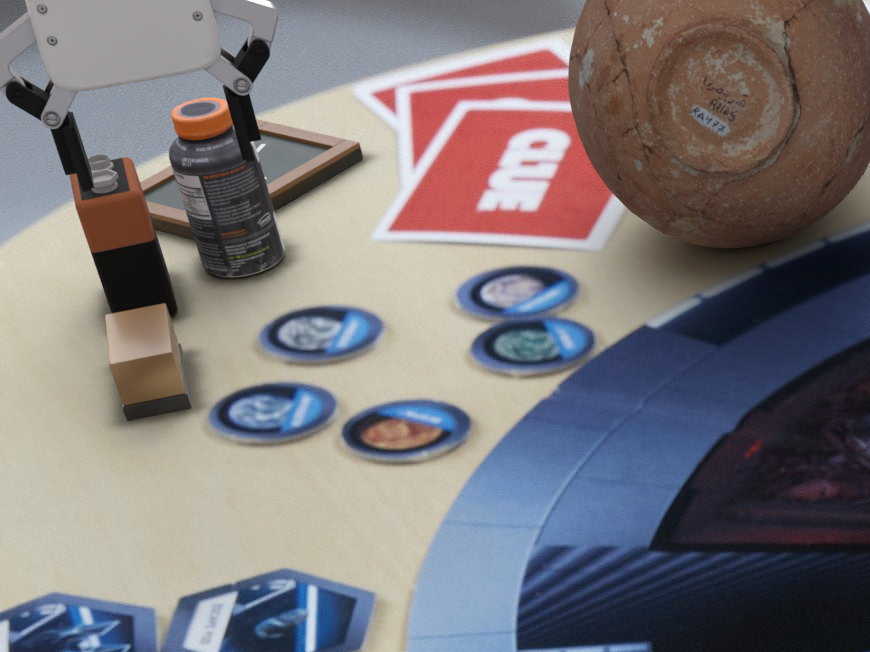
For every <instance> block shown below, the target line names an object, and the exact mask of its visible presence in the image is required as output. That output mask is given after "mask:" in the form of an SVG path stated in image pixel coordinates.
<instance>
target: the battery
mask: <svg viewBox="0 0 870 652" xmlns="http://www.w3.org/2000/svg"><path fill="white" fill-rule="evenodd" d="M87 158H88V161H89V164H90V168H91V171H92V177H93V183H94V188H91V191H88V192H82V189H81V186H80V183H79V180H78V176H77V174H71V175H69V180H70V186H71V191H72V196H73V201H74V206H75V210H76V213H77V216H78V219H79V221H80V226H81V228H82V231H83V233H84V236H85V239H86V242H87V245H88V248H89V252H90V254H91V257H92V260H93V263H94V265H95V269H96V272H97V275H98V277H99V280H100V284H101V286H102V289H103V292H104V295H105V298H106V302H107V304H108V307H109V310H110V314H112V313H117V312H122V311H127V310H132V309H138V308H143V307H148V306H153V305H158V304H163V303H165V304H166V306H167V309H168V312H169V315H170V317H174V316H175V315H177V313H178V304H177V300H176V296H175V292H174V287H173V284H172V280H171V275H170V273H169V270H168V269H169V268H168V266H167V263H166V260H165V257H164V254H163V250H162V247H161V244H160V241H159V237H158V235H157V232H156V229H155V228H154V225H153V222H152V219H151V216H150V212H149V209H148V206H147V203H146V200H145V197H144V194H143V190H142V187H141V184H140V182H141V181H140V178H139V176H138V172H137V168H136V166H135V164H134V160H133V159H132V158H130V157H129V156H124V157H119V158H113V159H110V156H109V154H108V153H96V154H92V155H90V156H87Z"/></svg>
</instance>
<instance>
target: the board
mask: <svg viewBox="0 0 870 652" xmlns="http://www.w3.org/2000/svg"><path fill="white" fill-rule="evenodd" d="M256 121H257V125H258V128H259V132H260V136H261V140H259V141H254V143H255V146H256V150H257V153H258V157H259V160H260V163H261V167H262V170H263V174H264V177H265V181H266V184H267V187H268V191H269V194H270V198H271V202H272V205H273V208H274V211H275V210H277V209H279V208H281V207H283V206H284V205H286V204H288V203H290V202H291V201H293V200H295V199H297V198H298V197H300V196H301V195H303V194H305V193H307V192H308V191H310V190H312V189H313V188H315V187H317V186H318V185H321V184H322V183H324V182H326V181H327V180H329V179H331V178H332V177H334V176H336V175H338V174H339V173H341V172H343V171H345V170H346V169H348V168H350V167H352V166H353V165H355V164H356V163H358V162H360V161H362V160H363V159H364V155H363V151H362V147H361V143H360V142H359V141H355V140H350V139H346V138H341V137H337V136H332V135H328V134H324V133H320V132H316V131H311V130H306V129H302V128H297V127H294V126H293V127H292V126H289V125H285V124H280V123H275V122H272V121H267V120H262V119H257V118H256ZM140 184H141V187H142V190H143V194H144V197H145V200H146V203H147V206H148V209H149V212H150V216H151V219H152V222H153V225H154V228H155V230H157V231H161V232H165V233H168V234H172V235H176V236H180V237H184V238H188V239H191V240H195V239H194V236H193V233H192V230H191V227H190V223H189V220H188V217H187V214H186V211H185V208H184V204H183V201H182V198H181V195H180V192H179V188H178V185H177V182H176V178H175V175H174V172H173V169H172V165H171V164H170V165H169V166H168V167H167V166H166V167H165V168H164V169H162V170H160V171H158V172H156V173H155V174H153V175H151V176H149V177H147V178H145V179H143V180H142V181H140Z"/></svg>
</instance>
